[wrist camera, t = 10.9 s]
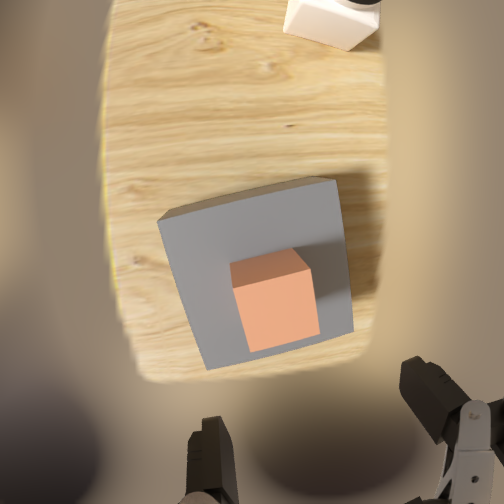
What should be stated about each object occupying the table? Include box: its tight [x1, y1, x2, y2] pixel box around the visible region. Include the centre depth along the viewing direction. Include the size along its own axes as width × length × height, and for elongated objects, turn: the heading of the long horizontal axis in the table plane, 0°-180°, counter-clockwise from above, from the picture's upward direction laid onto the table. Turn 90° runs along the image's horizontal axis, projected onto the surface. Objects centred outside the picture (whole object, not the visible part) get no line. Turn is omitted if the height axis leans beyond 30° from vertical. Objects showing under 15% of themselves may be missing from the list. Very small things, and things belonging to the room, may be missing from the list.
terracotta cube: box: [229, 248, 320, 353], centre depth 22 cm, size 5×5×5 cm
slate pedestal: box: [157, 176, 354, 370], centre depth 27 cm, size 14×14×6 cm
